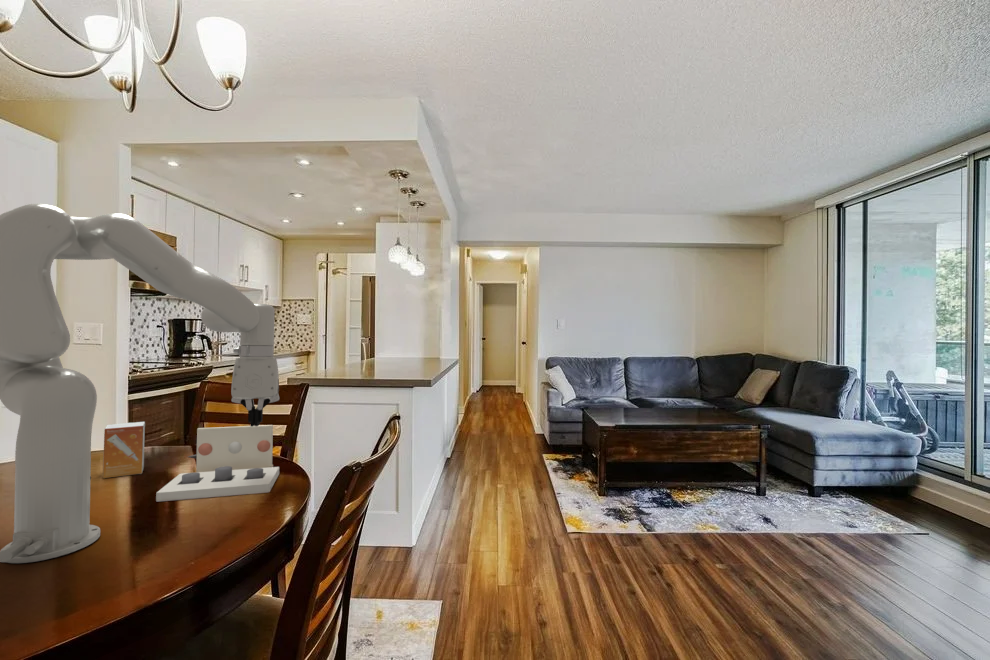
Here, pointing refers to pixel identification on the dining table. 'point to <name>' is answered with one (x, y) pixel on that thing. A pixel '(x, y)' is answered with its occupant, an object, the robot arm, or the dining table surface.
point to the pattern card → (234, 447)
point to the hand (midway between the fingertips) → (255, 425)
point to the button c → (255, 473)
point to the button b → (223, 474)
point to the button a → (191, 478)
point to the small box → (123, 449)
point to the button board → (218, 485)
